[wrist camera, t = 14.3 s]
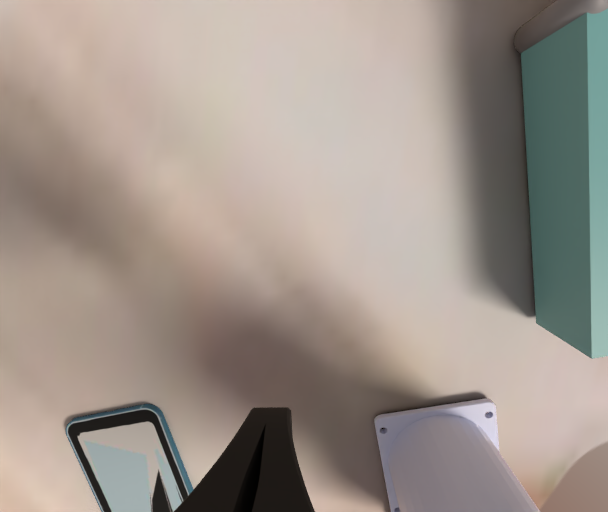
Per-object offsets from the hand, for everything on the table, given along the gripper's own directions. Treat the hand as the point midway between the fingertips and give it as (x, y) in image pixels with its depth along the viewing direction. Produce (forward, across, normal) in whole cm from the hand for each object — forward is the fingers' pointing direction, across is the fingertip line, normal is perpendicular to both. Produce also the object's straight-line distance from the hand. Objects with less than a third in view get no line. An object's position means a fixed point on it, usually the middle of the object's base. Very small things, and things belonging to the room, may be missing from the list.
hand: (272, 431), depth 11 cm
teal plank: (+9, -14, -8) cm, 18 cm away
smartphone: (+10, +12, +14) cm, 21 cm away
